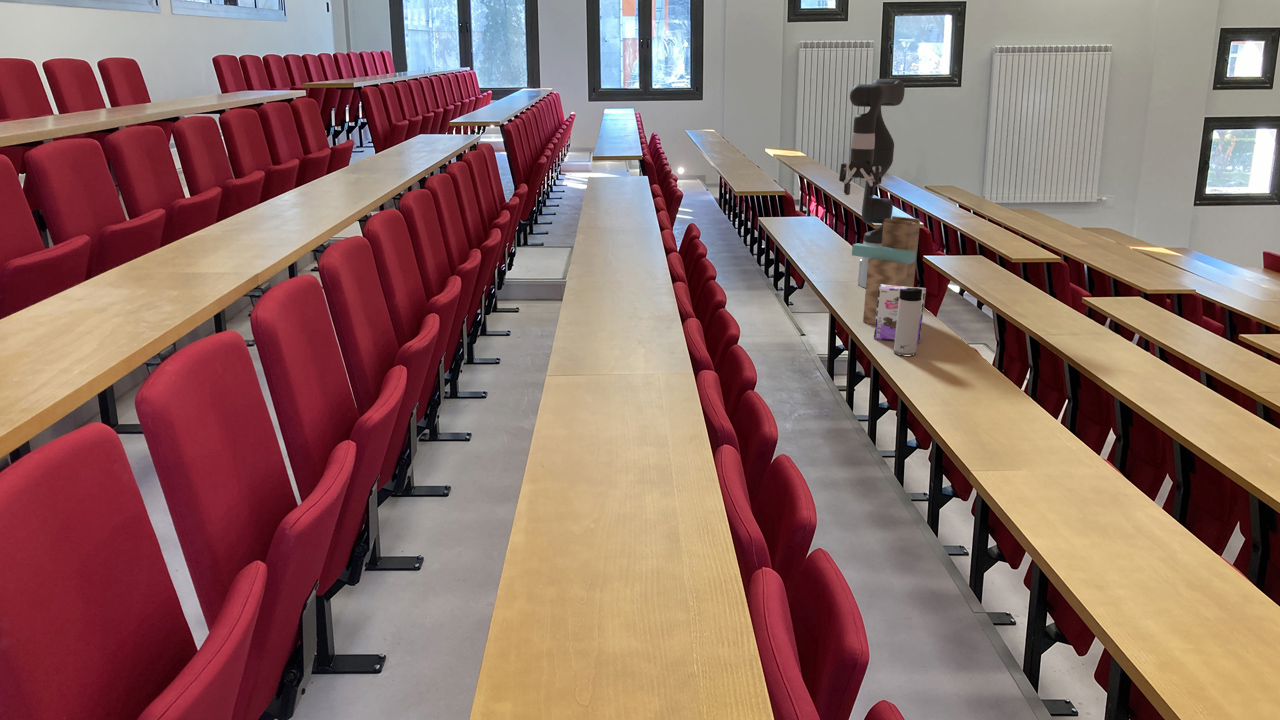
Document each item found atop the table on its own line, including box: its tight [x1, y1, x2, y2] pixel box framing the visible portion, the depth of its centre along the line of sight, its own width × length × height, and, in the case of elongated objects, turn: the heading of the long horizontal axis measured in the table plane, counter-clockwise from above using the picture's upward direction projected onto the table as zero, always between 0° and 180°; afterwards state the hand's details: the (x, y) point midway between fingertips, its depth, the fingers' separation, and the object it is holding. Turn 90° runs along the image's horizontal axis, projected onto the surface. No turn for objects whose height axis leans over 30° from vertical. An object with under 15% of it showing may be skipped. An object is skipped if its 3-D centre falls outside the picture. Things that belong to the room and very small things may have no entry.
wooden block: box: [862, 258, 908, 325], centre depth 296 cm, size 10×8×21 cm
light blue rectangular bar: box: [851, 243, 916, 264], centre depth 293 cm, size 20×4×4 cm, turn 51°
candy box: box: [873, 284, 927, 344], centre depth 279 cm, size 14×6×16 cm, turn 70°
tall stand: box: [881, 215, 921, 287], centre depth 300 cm, size 9×8×33 cm
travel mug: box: [893, 287, 922, 355], centre depth 265 cm, size 6×7×20 cm
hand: (858, 196), depth 308 cm, fingers open, 8 cm apart
